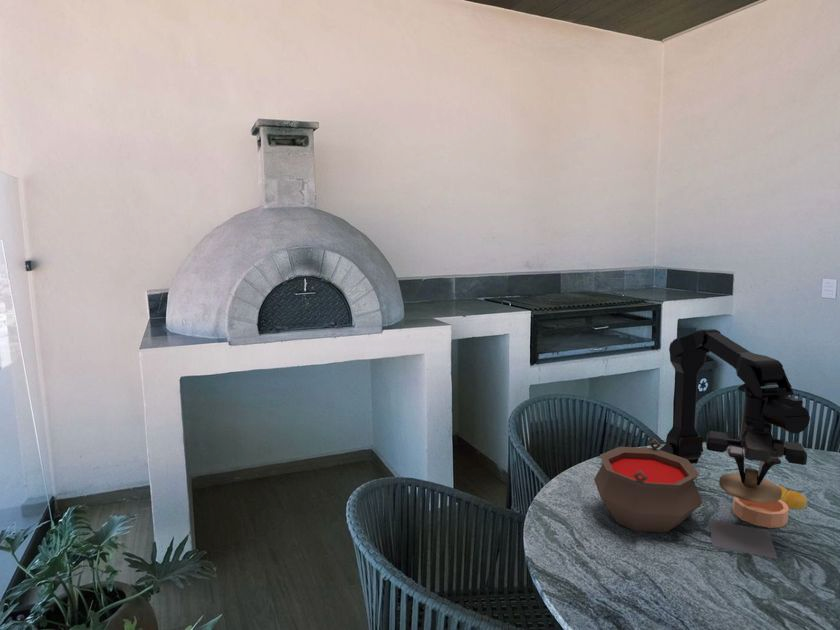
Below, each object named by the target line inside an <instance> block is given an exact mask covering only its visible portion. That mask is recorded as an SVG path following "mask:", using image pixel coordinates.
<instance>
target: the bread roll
mask: <svg viewBox="0 0 840 630" xmlns="http://www.w3.org/2000/svg"><path fill="white" fill-rule="evenodd" d="M776 485H777V484H776ZM777 486H778V487H779V488H780V489H781V491H782V495H781V499H780V500H781V501H783V502H784V503H786V504H787V506H788V508H789V510H804V509H807V508H808V500H807V498H806V496H804V495H803V494H802V493H800V492H798V491H795V490H788V489H787V488H786V487H784V486H781V485H777Z"/></svg>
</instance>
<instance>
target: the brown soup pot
mask: <svg viewBox="0 0 840 630" xmlns="http://www.w3.org/2000/svg"><path fill="white" fill-rule="evenodd" d="M654 443H655V444H656V445H654ZM647 444H648V445H649V446H650V447H635V446H617V447H616V448H613V449H610V450H609V451H606V452H604V453H601V454H599V456H600V460H601V462H602V465H601V466H600V468H599V470H598V471H597V473H596V475H595V477H594V478H593V480H594V483H595V484H594V485H595V486H596V489H597V491H598V494H599V497H600V498H601V501H602V502H603V503H604V505H605V506H606V507H607V509H608V511H609V512H610V514H611V515H612V517H613V518H614V520H615V522H616V523H617V524H619V525H621V526H623V527H625V528H628V529H629V530H631V531H634V532H636V533H639V532H648V533H649V532H652V533H653V532H654V533H668V532H669V531H671V530H672V529H674V528H676V527H678V526H679V525H681V523H682V522H684V521H685V520H686V518H688V517H689V516H690V515H691V514H692V513H694V511H696V510H697V509H699V507H700V506H701V505H702V504H703V500H702V498H701V495H700V493H699V490H698V488H697V485H696V482H695V481H694V480H696V479H697V478H698V477H699V476H700V473H699V472H698V471H697V469H696V467H694V465H693V464H691V463H690V462H689V460H688V459H685V458H682V457H679V456H676V455H673V454H670V453H667V452H664V451H661V450H659V449H660V447H662V445H661V443H660V442H659V441H658V440H657V439H656V438H654V439H652V440H651V441H649V442H648V443H647Z"/></svg>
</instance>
